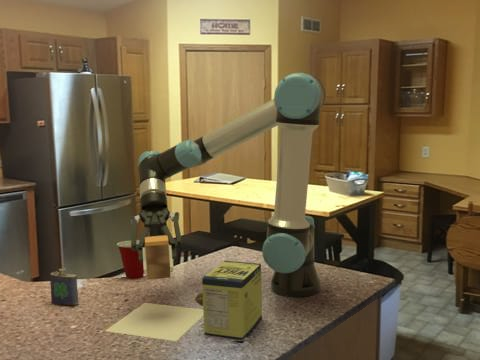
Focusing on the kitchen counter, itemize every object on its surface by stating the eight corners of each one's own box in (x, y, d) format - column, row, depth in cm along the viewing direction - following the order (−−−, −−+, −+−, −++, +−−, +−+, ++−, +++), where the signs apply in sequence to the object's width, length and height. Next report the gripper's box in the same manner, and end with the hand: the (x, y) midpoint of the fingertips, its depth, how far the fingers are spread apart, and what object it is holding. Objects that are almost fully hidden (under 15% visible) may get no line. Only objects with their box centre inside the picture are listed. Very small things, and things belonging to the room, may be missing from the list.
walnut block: (169, 270, 144) (167, 235, 142) (170, 277, 138) (168, 240, 136) (147, 273, 143) (144, 237, 141) (147, 279, 137) (144, 242, 135)
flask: (80, 303, 154) (78, 268, 153) (74, 307, 152) (71, 271, 150) (55, 300, 158) (52, 265, 156) (48, 303, 155) (45, 268, 154)
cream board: (209, 313, 145) (208, 310, 144) (176, 345, 126) (176, 341, 126) (144, 306, 151) (144, 302, 151) (104, 334, 133) (104, 331, 133)
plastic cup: (154, 271, 183) (153, 237, 182) (146, 281, 173) (144, 246, 171) (124, 271, 184) (122, 237, 183) (114, 281, 174) (112, 246, 172)
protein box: (262, 319, 140) (261, 262, 138) (243, 344, 126) (241, 281, 123) (226, 314, 144) (224, 259, 142) (203, 338, 129) (201, 277, 127)
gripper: (186, 203, 155) (194, 274, 141) (120, 208, 151) (122, 280, 138) (187, 188, 149) (195, 260, 135) (118, 192, 145) (119, 267, 132)
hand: (158, 270), depth 136 cm, fingers closed on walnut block, 6 cm apart
